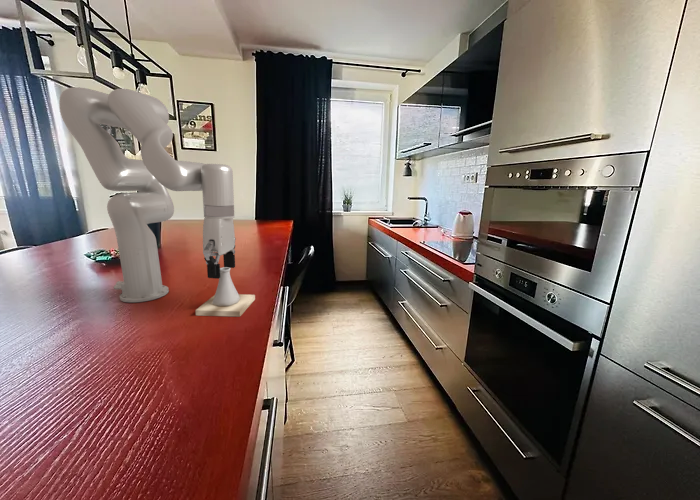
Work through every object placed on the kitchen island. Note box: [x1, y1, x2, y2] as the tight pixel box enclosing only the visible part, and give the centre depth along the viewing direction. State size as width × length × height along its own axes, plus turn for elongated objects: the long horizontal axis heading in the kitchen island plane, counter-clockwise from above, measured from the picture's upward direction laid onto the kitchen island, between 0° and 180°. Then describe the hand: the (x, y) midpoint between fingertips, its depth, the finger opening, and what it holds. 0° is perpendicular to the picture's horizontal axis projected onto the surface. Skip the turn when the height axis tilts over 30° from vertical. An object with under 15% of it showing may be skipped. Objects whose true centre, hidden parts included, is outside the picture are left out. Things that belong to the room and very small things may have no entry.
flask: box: [212, 266, 241, 306], centre depth 84 cm, size 7×7×10 cm
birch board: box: [195, 293, 256, 318], centre depth 85 cm, size 12×12×2 cm
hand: (222, 272), depth 83 cm, fingers open, 9 cm apart
